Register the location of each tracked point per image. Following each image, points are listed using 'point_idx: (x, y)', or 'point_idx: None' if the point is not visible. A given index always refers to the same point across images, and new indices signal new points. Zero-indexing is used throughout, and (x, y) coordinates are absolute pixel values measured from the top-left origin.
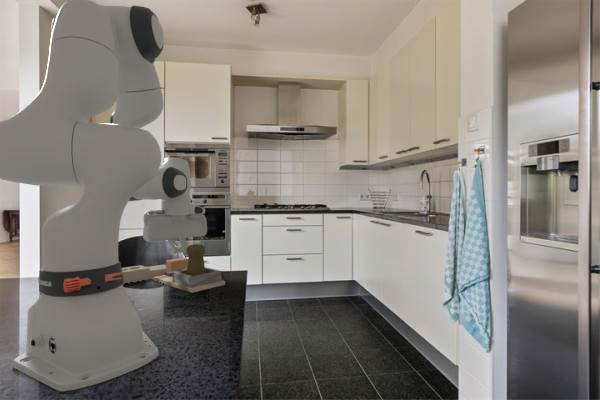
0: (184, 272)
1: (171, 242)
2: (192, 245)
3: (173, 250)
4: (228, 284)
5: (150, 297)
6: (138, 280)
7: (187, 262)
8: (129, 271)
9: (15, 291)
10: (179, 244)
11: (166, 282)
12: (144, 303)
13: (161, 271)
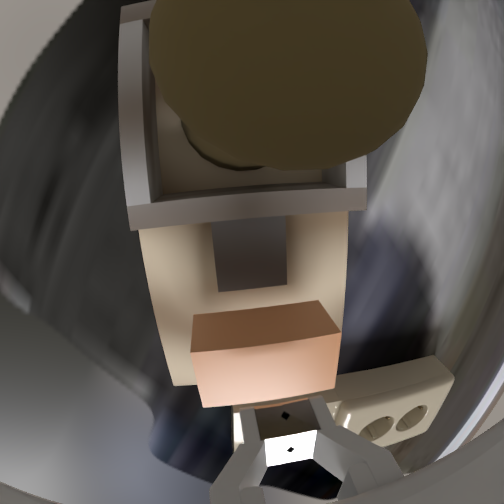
0: (292, 188)
1: (388, 458)
2: (393, 2)
3: (328, 417)
4: (119, 20)
5: (450, 108)
6: (372, 371)
7: (202, 336)
8: (416, 391)
9: (496, 397)
10: (257, 481)
11: (344, 246)
12: (471, 70)
13: (288, 400)
